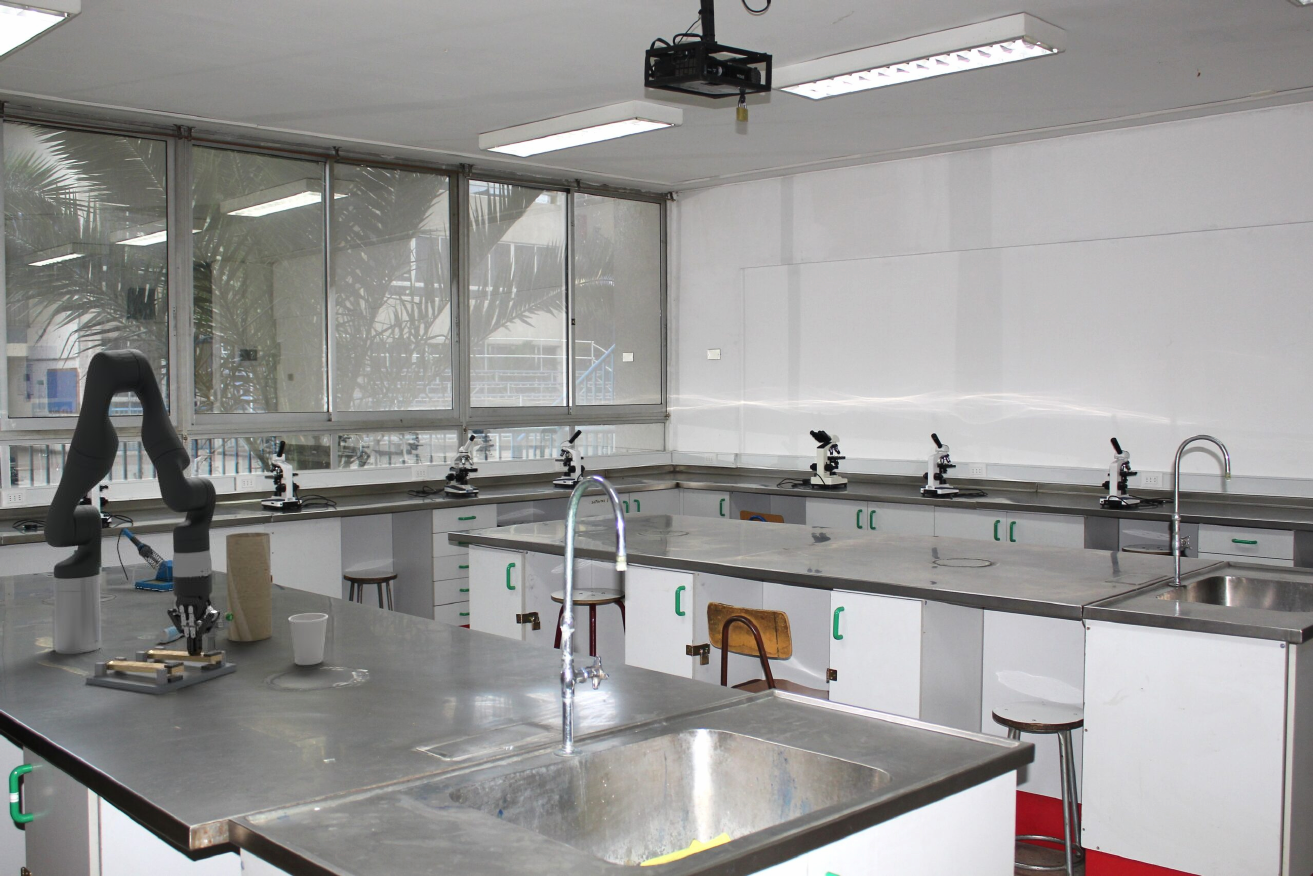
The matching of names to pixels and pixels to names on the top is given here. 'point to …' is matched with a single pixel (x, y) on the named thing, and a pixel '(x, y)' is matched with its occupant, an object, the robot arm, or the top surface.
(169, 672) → the strap front
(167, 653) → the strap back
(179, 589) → the robot arm
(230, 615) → the mechanical component
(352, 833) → the top surface
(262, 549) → the tube
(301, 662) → the dixie cup
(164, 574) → the soldering iron
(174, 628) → the 3d printing pen
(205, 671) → the mount plate
